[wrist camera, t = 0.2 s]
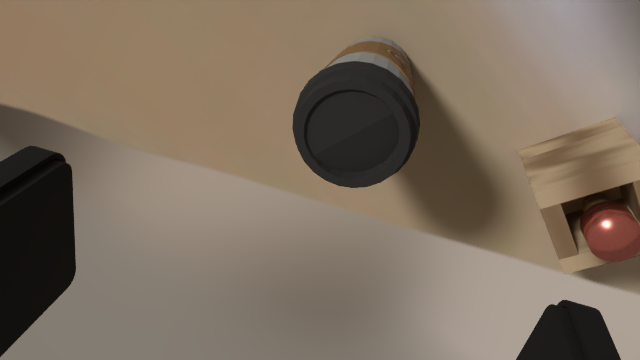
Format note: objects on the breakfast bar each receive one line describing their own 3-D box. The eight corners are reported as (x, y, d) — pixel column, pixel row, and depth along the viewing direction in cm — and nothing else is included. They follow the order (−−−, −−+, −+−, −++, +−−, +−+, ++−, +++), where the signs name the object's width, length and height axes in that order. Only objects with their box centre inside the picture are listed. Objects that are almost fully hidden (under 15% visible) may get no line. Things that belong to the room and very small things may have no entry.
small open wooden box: (544, 222, 48) (564, 274, 41) (518, 150, 45) (534, 193, 38) (637, 195, 45) (675, 246, 38) (614, 117, 42) (650, 157, 36)
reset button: (582, 178, 40) (602, 213, 35) (628, 189, 40) (655, 226, 35) (562, 215, 42) (579, 253, 37) (607, 226, 41) (629, 266, 37)
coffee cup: (439, 88, 44) (443, 161, 31) (358, 131, 47) (331, 213, 34) (392, 3, 42) (374, 43, 29) (310, 55, 45) (261, 112, 32)
